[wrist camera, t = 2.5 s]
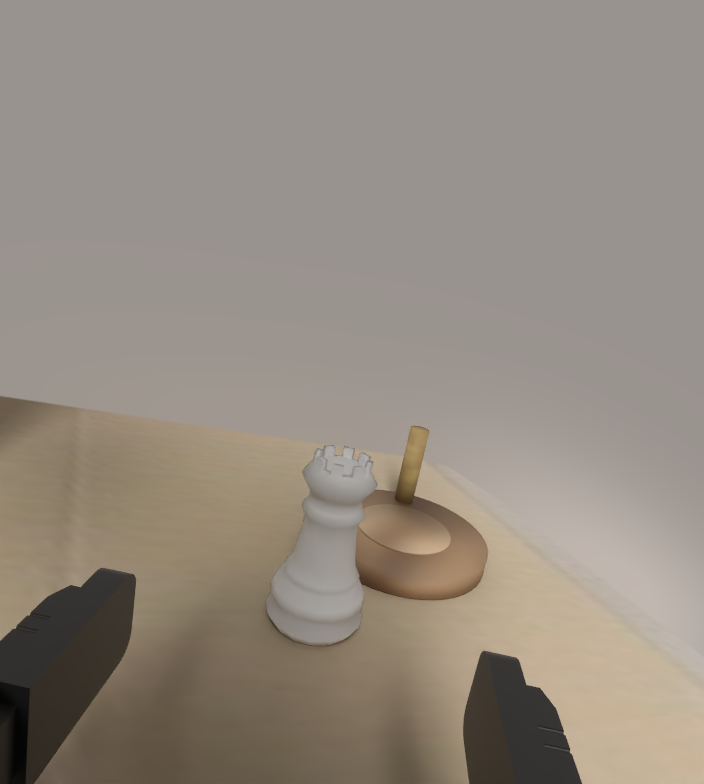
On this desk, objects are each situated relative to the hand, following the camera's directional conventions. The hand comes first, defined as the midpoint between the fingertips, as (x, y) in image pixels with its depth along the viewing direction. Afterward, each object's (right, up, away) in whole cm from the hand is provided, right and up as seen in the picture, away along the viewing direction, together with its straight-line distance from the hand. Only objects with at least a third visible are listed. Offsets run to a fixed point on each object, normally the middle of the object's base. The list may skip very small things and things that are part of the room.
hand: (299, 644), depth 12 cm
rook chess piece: (-1, -5, +13) cm, 14 cm away
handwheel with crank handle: (+4, -4, +21) cm, 21 cm away
